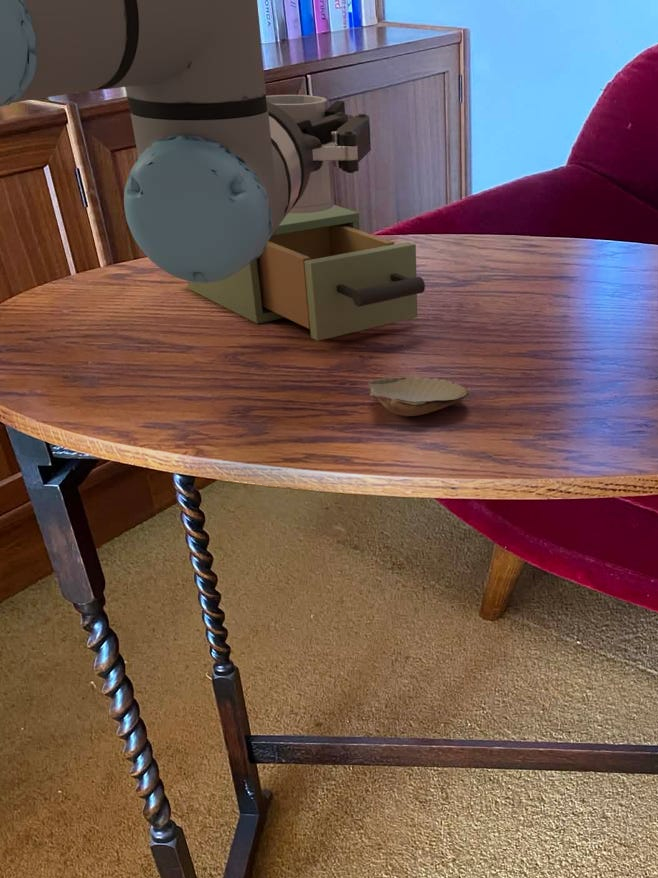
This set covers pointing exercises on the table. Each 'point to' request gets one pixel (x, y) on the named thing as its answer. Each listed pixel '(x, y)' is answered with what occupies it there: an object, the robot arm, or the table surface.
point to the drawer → (339, 280)
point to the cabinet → (244, 285)
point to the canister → (321, 181)
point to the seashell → (416, 394)
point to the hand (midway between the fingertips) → (301, 118)
